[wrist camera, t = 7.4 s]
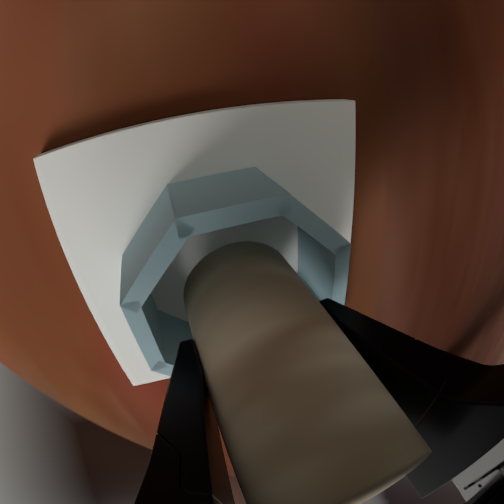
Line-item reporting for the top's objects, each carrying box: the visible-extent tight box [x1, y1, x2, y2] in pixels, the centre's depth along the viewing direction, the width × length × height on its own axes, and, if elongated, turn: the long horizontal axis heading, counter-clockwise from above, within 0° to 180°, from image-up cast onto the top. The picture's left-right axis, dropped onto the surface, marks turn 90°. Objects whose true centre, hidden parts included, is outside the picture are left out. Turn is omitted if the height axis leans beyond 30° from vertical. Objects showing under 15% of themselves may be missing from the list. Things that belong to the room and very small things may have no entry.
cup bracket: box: [33, 99, 356, 386], centre depth 12 cm, size 12×12×4 cm
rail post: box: [183, 241, 432, 504], centre depth 8 cm, size 4×4×8 cm
